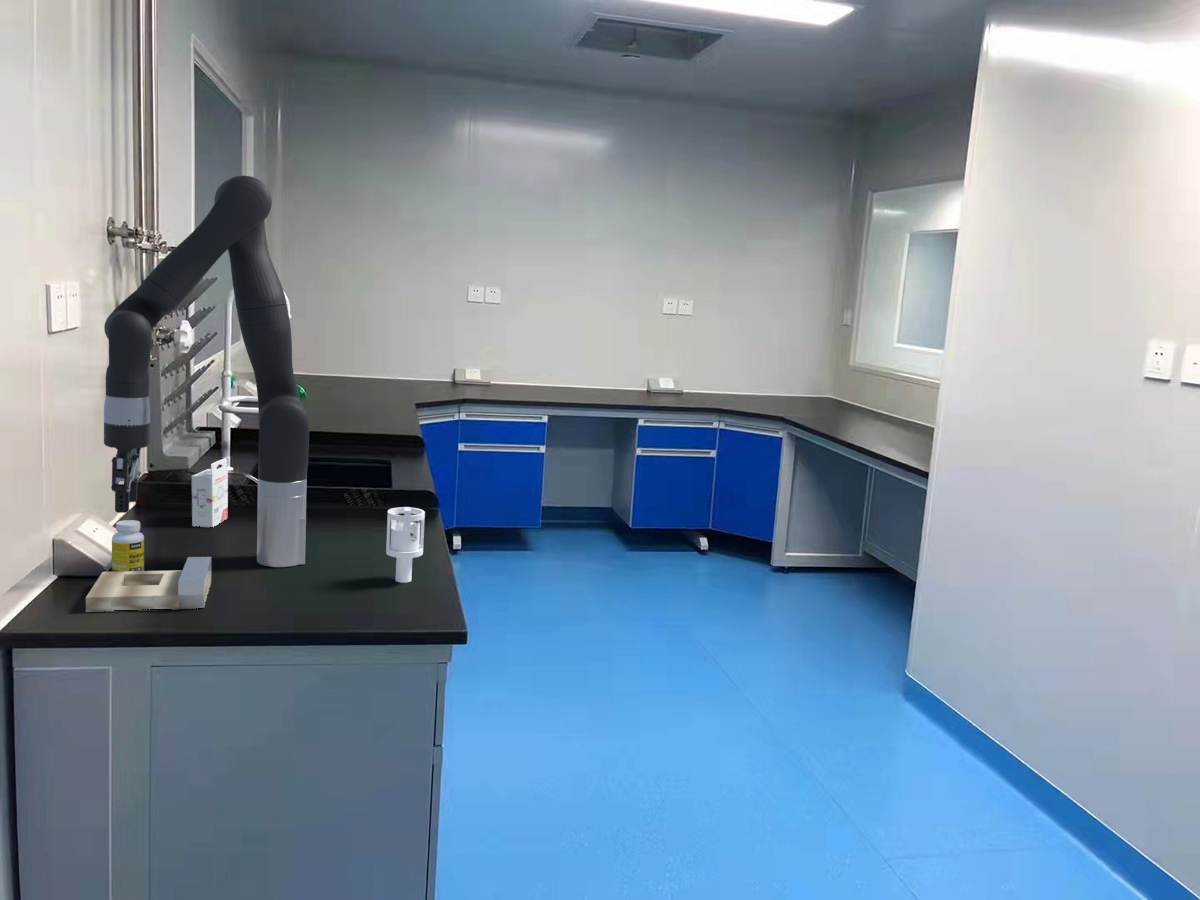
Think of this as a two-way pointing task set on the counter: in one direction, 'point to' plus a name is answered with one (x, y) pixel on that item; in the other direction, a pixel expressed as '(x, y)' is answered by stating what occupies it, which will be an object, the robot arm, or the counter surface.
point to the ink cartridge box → (210, 495)
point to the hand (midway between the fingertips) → (126, 506)
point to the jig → (152, 588)
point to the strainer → (405, 539)
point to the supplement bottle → (128, 547)
